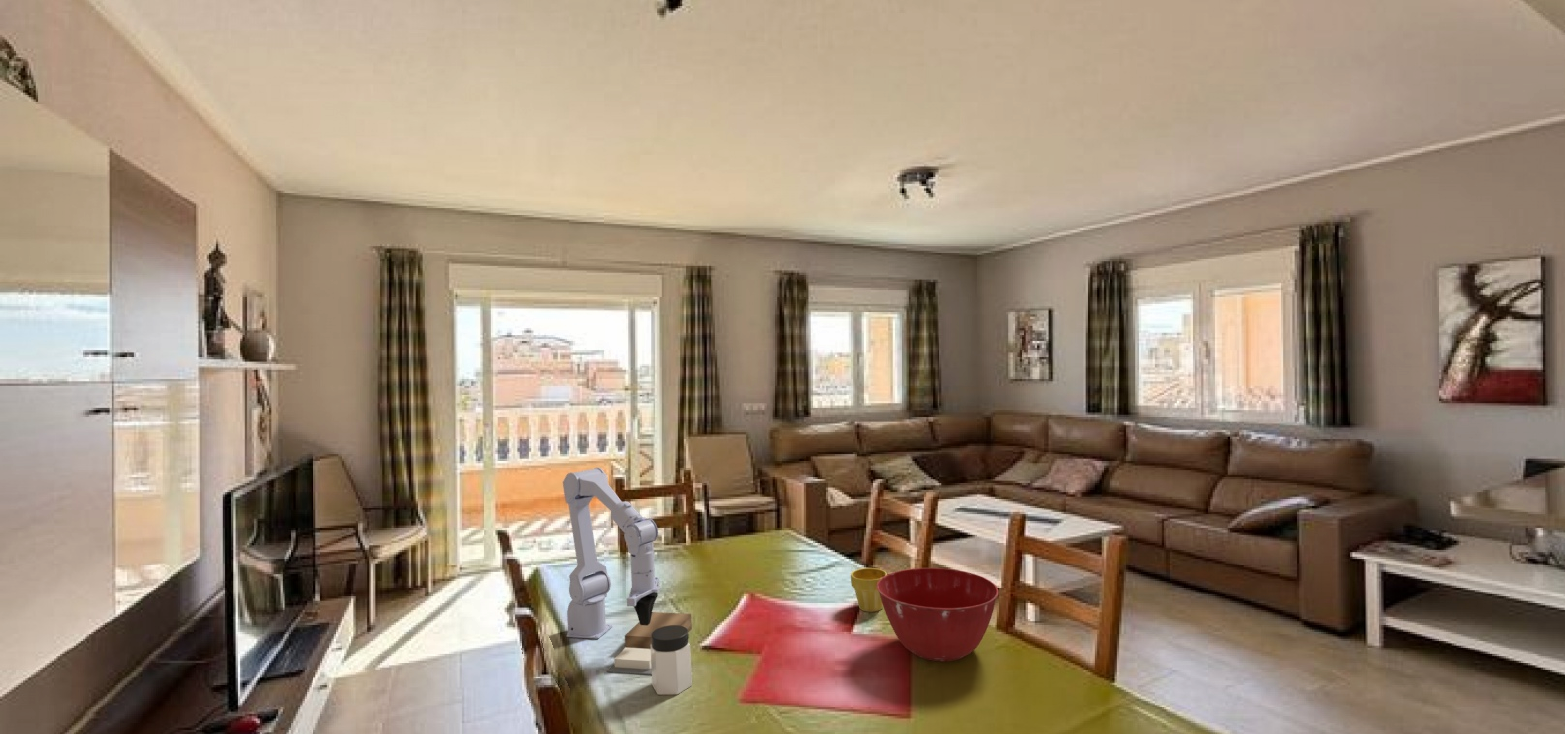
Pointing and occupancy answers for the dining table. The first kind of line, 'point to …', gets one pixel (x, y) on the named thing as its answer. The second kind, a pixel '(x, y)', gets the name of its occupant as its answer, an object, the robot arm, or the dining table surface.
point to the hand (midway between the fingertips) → (645, 624)
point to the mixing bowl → (938, 610)
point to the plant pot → (867, 588)
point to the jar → (670, 660)
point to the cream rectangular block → (634, 658)
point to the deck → (654, 628)
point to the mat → (629, 670)
